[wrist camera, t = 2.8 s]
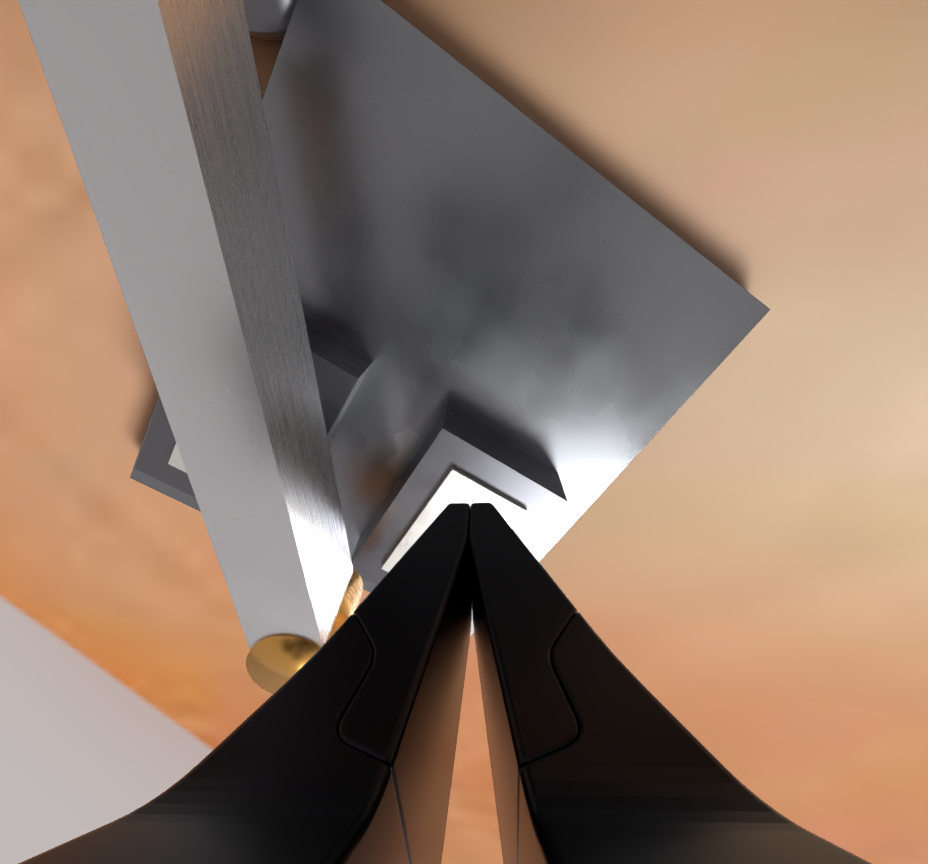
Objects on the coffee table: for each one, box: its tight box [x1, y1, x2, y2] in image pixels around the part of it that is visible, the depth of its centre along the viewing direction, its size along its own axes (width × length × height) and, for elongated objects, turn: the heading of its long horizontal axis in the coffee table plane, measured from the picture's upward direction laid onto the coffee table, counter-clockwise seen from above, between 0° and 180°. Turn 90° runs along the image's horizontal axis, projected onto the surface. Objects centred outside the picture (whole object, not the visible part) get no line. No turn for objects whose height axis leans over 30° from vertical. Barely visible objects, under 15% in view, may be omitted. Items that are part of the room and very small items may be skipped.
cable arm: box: [18, 0, 363, 694], centre depth 10 cm, size 18×2×3 cm, turn 3°
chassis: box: [130, 0, 770, 636], centre depth 15 cm, size 18×16×3 cm
